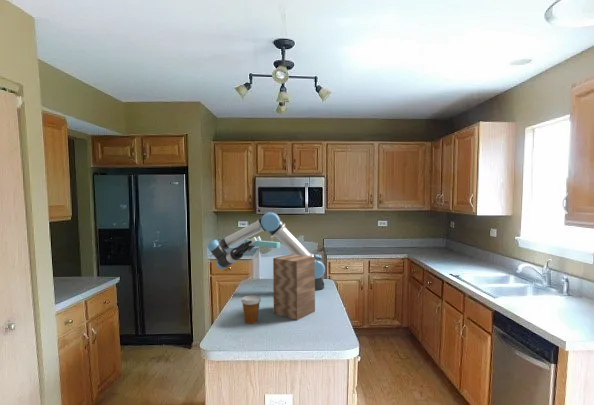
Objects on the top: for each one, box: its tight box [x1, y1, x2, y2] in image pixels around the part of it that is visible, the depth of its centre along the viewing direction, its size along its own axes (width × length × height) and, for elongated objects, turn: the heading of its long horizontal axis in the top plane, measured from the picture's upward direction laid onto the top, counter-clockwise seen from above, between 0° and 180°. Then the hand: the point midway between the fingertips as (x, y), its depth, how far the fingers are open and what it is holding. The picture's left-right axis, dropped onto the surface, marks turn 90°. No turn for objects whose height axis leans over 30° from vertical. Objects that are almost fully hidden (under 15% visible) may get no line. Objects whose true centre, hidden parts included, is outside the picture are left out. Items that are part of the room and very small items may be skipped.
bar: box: [244, 238, 281, 249], centre depth 189 cm, size 26×3×3 cm, turn 53°
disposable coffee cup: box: [241, 294, 261, 325], centre depth 163 cm, size 10×10×12 cm
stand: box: [272, 253, 316, 321], centre depth 175 cm, size 16×16×30 cm
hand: (257, 238), depth 191 cm, fingers closed on bar, 3 cm apart
